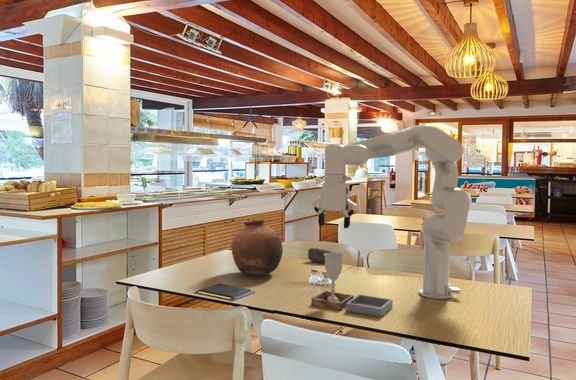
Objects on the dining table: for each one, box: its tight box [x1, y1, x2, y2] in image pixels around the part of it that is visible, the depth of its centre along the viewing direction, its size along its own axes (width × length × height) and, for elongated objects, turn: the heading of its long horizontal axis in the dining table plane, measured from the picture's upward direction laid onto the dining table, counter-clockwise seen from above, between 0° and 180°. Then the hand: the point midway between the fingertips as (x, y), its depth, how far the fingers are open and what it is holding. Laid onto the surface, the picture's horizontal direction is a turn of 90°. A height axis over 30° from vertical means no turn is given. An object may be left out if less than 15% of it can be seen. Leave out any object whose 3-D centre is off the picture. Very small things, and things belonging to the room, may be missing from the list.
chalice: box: [324, 252, 344, 302], centre depth 174 cm, size 7×7×18 cm
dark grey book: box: [193, 283, 256, 302], centre depth 187 cm, size 20×2×15 cm
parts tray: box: [345, 294, 394, 318], centre depth 168 cm, size 13×13×3 cm
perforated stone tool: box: [307, 247, 333, 264], centre depth 243 cm, size 15×5×7 cm, turn 61°
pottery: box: [230, 218, 284, 277], centre depth 216 cm, size 23×23×25 cm
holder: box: [311, 290, 355, 311], centre depth 175 cm, size 12×12×2 cm
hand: (333, 226), depth 173 cm, fingers open, 9 cm apart
